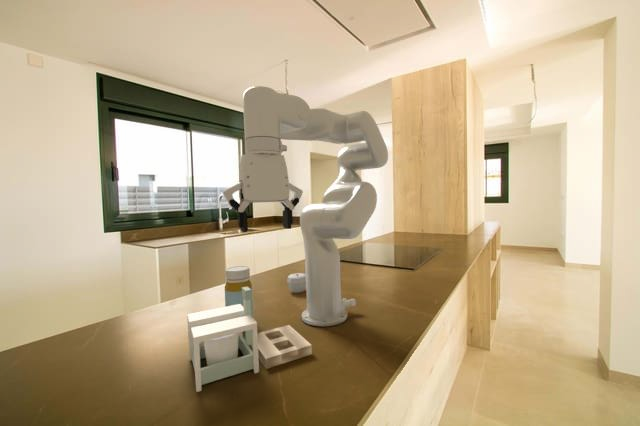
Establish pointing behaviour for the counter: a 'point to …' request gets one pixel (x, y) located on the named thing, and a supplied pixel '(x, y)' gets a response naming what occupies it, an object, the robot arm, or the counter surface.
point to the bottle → (237, 285)
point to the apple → (297, 282)
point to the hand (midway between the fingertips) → (266, 229)
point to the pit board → (281, 346)
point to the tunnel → (219, 331)
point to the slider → (232, 365)
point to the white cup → (221, 349)
